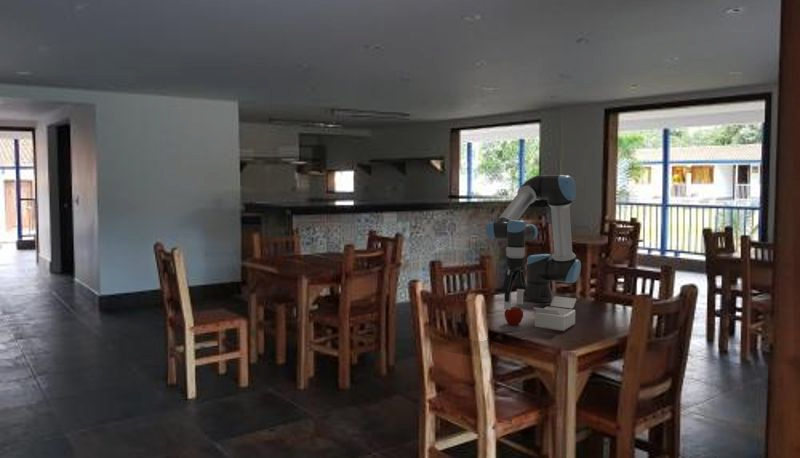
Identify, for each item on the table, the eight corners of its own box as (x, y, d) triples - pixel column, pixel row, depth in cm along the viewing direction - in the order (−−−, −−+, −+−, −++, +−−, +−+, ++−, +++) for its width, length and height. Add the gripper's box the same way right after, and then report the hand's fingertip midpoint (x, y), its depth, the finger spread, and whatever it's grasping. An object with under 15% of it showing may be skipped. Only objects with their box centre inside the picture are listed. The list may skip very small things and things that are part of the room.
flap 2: (550, 305, 276) (550, 305, 276) (572, 308, 271) (572, 308, 271) (554, 296, 280) (554, 296, 280) (576, 298, 275) (576, 299, 275)
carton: (546, 319, 277) (546, 306, 277) (575, 323, 270) (576, 310, 270) (533, 326, 265) (534, 312, 264) (564, 331, 258) (565, 316, 257)
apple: (521, 322, 272) (521, 304, 272) (524, 326, 264) (524, 308, 264) (503, 322, 272) (503, 304, 272) (505, 326, 265) (506, 308, 264)
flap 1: (561, 315, 258) (560, 315, 258) (537, 311, 263) (537, 312, 263) (557, 310, 253) (556, 310, 253) (533, 307, 258) (533, 307, 258)
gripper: (518, 253, 278) (516, 301, 280) (494, 259, 257) (493, 310, 259) (534, 254, 274) (532, 303, 276) (512, 260, 253) (510, 312, 255)
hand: (513, 306), depth 268 cm, fingers open, 13 cm apart
